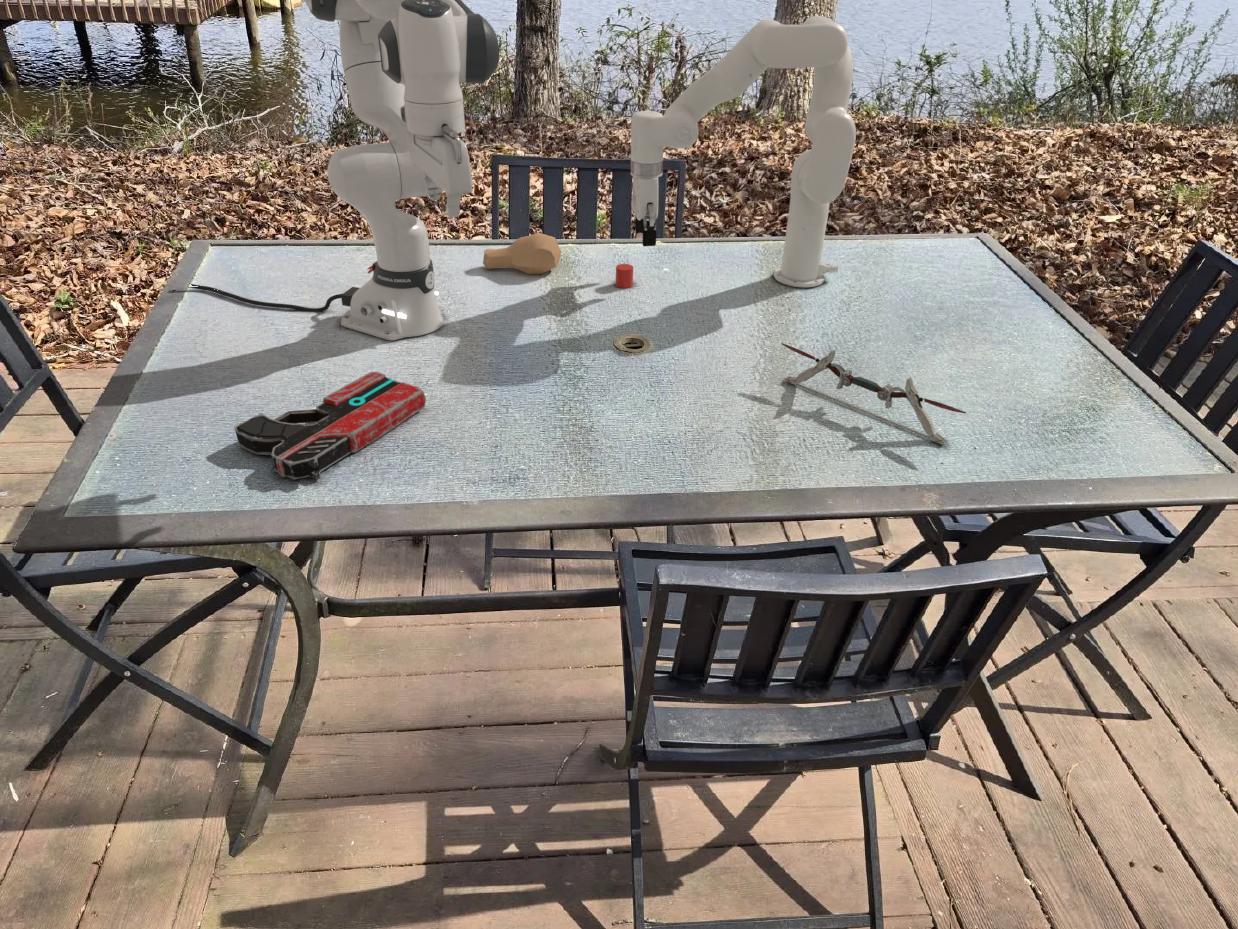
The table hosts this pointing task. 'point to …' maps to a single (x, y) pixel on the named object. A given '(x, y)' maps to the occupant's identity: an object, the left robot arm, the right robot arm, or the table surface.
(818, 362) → the bow
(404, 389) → the gun
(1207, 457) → the table surface
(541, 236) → the squash
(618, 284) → the canister
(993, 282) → the table surface
